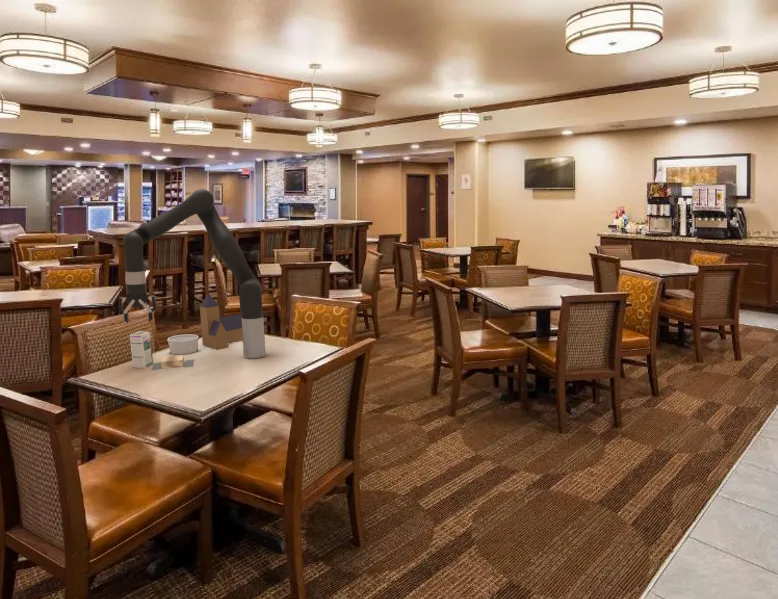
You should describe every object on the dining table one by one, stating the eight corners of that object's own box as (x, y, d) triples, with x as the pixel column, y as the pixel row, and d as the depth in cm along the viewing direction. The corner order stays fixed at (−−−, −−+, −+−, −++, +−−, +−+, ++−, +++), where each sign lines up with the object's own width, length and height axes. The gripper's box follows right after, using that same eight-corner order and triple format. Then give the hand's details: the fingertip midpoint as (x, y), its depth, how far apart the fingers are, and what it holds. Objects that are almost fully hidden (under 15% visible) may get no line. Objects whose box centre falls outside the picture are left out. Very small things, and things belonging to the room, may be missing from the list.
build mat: (194, 360, 252) (194, 359, 252) (193, 368, 241) (193, 366, 241) (154, 364, 248) (154, 362, 247) (151, 371, 237) (151, 370, 237)
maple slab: (184, 361, 248) (183, 355, 248) (182, 367, 241) (182, 359, 240) (163, 363, 246) (163, 356, 246) (161, 368, 239) (161, 361, 238)
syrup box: (145, 369, 241) (142, 334, 238) (132, 368, 242) (129, 334, 239) (153, 365, 246) (150, 331, 244) (140, 364, 247) (137, 330, 245)
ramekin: (197, 355, 261) (196, 340, 260) (165, 357, 259) (164, 341, 257) (201, 348, 274) (200, 333, 272) (171, 349, 272) (170, 335, 270)
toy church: (202, 345, 278) (198, 293, 274) (237, 338, 292) (234, 288, 287) (216, 350, 270) (212, 295, 266) (251, 342, 283) (248, 290, 279)
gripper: (155, 280, 244) (158, 319, 246) (118, 281, 240) (121, 321, 243) (153, 283, 237) (156, 322, 239) (115, 284, 233) (118, 324, 236)
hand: (138, 321), depth 241 cm, fingers open, 8 cm apart
